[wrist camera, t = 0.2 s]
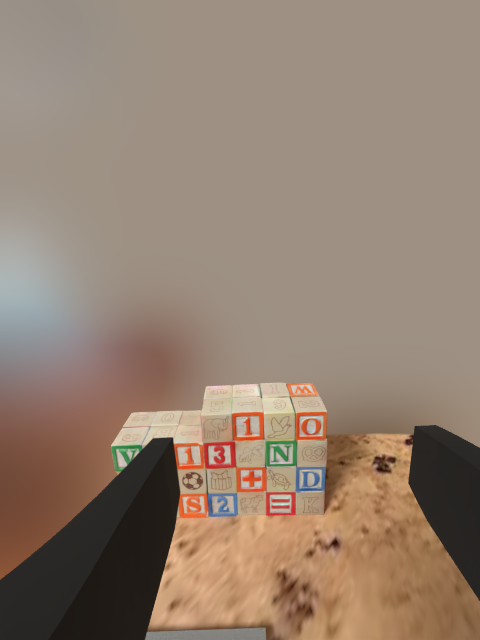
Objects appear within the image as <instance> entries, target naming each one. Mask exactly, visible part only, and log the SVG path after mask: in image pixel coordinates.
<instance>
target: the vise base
mask: <svg viewBox="0 0 480 640" xmlns="http://www.w3.org/2000/svg"><path fill="white" fill-rule="evenodd" d="M145 640H266V628H240V629H213V630H185V631H157V632H147V634H146V638H145Z"/></svg>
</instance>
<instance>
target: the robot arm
mask: <svg viewBox="0 0 480 640" xmlns="http://www.w3.org/2000/svg"><path fill="white" fill-rule="evenodd" d="M408 483H409V485H410V487H411V489H412V491H413V494H414V496H415V498H416V500H417V502H418V504H419V506H420V507H421V509H422V511H423V513H424V515H425V517H426V519H427V521H428V522H429V524H430V525H431V527H432V529H433V530H434V532H435V533H436V535H437V536H438V538H439V539H440V541H441V543H442V544H443V546H444V547H445V549H446V550H447V552H448V553H449V555H450V556H451V558H452V559H453V561H454V562H455V564H456V565H457V567H458V569H459V570H460V572H461V573H462V575H463V576H464V578H465V579H466V581H467V582H468V584H469V585H470V587H471V588H472V590H473V591H474V593H475V594H476V596H477V597H478V599H479V600H480V448H479V447H477V446H475V445H473V444H472V443H470V442H468V441H466V440H464V439H462V438H460V437H459V436H457V435H455V434H453V433H451V432H449V431H447V430H445V429H443V428H441V427H438V426H436V425H430V426H415V429H414V438H413V447H412V456H411V464H410V473H409V482H408ZM180 493H181V492H180V485H179V477H178V470H177V463H176V455H175V448H174V441H173V437H166V438H153V439H152V440H151V441H150V442H149V443H148V444H147V445H146V446H145V447H144V448H143V449H142V450H141V451H140V452H139V453H138V454H137V455H136V456H135V457H134V459H133V460H132V461H131V462H130V463H129V464H128V465H127V466H126V467H125V468H124V469H123V470H122V471H121V472H120V473H119V474H118V475H117V476H116V477H115V478H114V479H113V480H112V481H111V482H110V483H109V485H108V486H107V487H106V488H105V489H104V490H103V491H102V492H101V493H100V494H99V495H98V496H97V497H96V498H95V499H93V500H92V501H91V502H90V503H89V504H88V505H87V506H86V507H85V508H84V509H83V510H82V511H81V512H80V513H79V514H78V515H77V516H75V517H74V518H73V519H72V520H71V521H70V522H69V523H68V524H67V525H66V526H65V527H64V528H63V529H61V530H60V531H59V532H58V533H57V534H56V535H55V536H53V537H52V538H51V539H50V540H49V541H48V542H47V543H45V544H44V545H43V546H42V547H41V548H39V549H38V550H37V551H36V552H34V553H33V554H32V555H31V556H30V557H28V558H27V559H26V560H25V561H24V562H22V563H21V564H20V565H19V566H18V567H16V568H15V569H14V570H13V571H11V572H10V573H9V574H7V575H6V576H5V577H3V578H2V579H1V580H0V640H145V638H146V634H147V630H148V626H149V622H150V619H151V615H152V611H153V608H154V604H155V600H156V597H157V593H158V589H159V586H160V582H161V578H162V575H163V571H164V567H165V564H166V560H167V556H168V553H169V549H170V545H171V541H172V538H173V534H174V530H175V524H176V518H177V512H178V506H179V499H180Z"/></svg>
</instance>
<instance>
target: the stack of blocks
mask: <svg viewBox="0 0 480 640" xmlns="http://www.w3.org/2000/svg"><path fill="white" fill-rule="evenodd" d="M326 432H327V410H326V408H325V406H324V404H323V402H322V400H321V398H320V396H319V395H318V393H317V391H316V389H315V387H314V385H313V384H312V383H300V384H285V383H261V384H260V385H258V384H251V385H250V384H248V385H234V386H231V385H230V386H207V387H206V390H205V395H204V404H203V408H202V410H199V411H198V410H195V411H159V412H136V413H132V414H131V415H130V417H129V418H128V420H127V421H126V423H125V424H124V426H123V429H122V430H121V431H120V433H119V435H118V436H117V438H116V439H115V441H114V442H113V444H112V445H111V449H112V455H113V461H114V467H115V471H116V472H117V475H118V474H119V473H120V472H121V471H122V470H123V469H124V468H125V467H126V466H127V465H128V464H129V463H130V462H131V461H132V460H133V459H134V457H135V456H136V455H137V454H138V453H139V452H140V451H141V450H142V449H143V448H144V447H145V446H146V445H147V444H148V443H149V442H150V441H151V440H152V439H153V438H166V437H173V441H174V448H175V455H176V463H177V470H178V477H179V485H180V492H181V493H180V499H179V506H178V512H177V518H179V517H182V518H201V517H209V516H210V517H217V516H237V515H238V516H248V515H267V516H269V515H322V514H324V501H325V490H324V489H325V474H326V464H327V447H328V446H327V443H328V440H327V437H326Z"/></svg>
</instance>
